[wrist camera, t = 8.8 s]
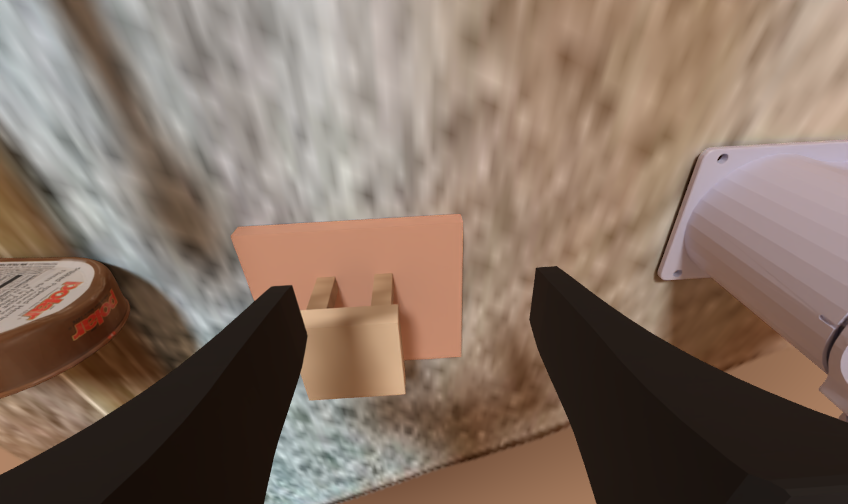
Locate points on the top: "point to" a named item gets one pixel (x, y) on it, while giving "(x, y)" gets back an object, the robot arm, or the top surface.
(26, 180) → the top surface
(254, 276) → the mat
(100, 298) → the tin
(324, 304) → the toy stool
